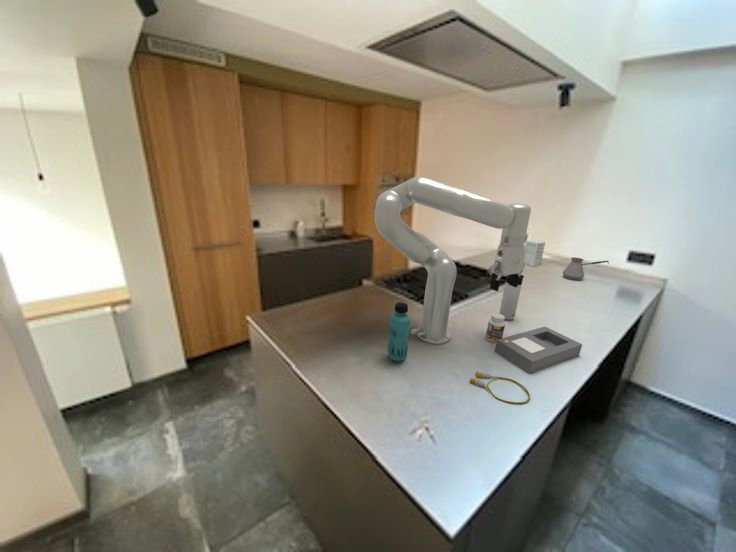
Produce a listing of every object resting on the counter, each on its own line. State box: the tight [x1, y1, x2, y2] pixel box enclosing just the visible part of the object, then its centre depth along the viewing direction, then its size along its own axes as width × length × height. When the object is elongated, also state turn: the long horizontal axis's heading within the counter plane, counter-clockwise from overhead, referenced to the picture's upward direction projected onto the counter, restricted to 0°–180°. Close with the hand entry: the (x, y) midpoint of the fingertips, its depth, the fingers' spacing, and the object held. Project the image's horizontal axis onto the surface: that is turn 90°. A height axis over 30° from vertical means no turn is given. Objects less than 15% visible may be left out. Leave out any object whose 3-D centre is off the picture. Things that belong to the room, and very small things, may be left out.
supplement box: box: [524, 239, 546, 267], centre depth 216 cm, size 10×9×17 cm
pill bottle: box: [485, 312, 506, 344], centre depth 114 cm, size 6×6×10 cm
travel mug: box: [498, 274, 525, 322], centre depth 130 cm, size 6×7×20 cm
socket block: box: [494, 326, 583, 374], centre depth 107 cm, size 26×14×5 cm, turn 116°
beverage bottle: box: [387, 302, 411, 362], centre depth 97 cm, size 6×7×20 cm
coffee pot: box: [562, 256, 610, 281], centre depth 186 cm, size 21×12×15 cm, turn 46°
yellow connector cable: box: [469, 371, 531, 406], centre depth 89 cm, size 12×16×2 cm
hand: (503, 287), depth 109 cm, fingers open, 9 cm apart
